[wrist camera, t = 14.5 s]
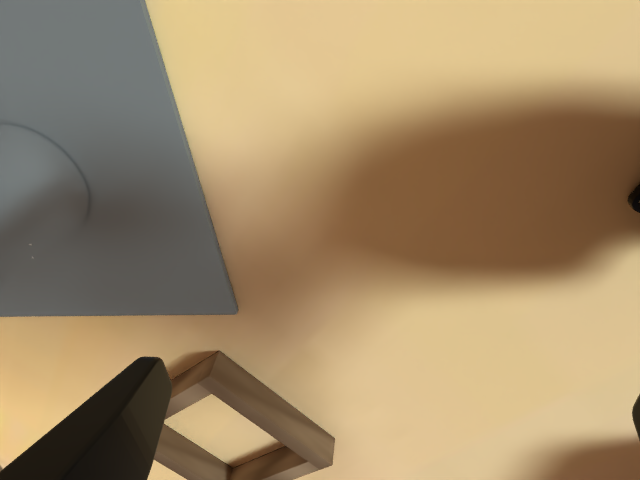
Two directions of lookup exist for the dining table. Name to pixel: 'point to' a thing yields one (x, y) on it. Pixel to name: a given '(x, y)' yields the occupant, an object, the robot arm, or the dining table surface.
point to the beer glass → (35, 197)
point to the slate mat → (109, 165)
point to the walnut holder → (256, 405)
